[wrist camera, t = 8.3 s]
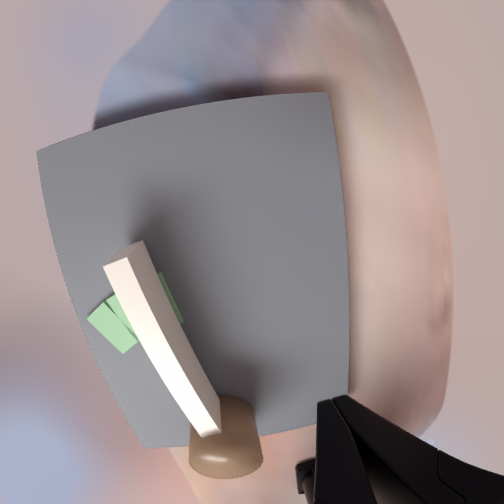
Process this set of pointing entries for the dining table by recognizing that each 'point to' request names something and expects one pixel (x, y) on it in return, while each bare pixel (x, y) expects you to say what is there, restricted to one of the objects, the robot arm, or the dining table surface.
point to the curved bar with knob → (184, 371)
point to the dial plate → (212, 252)
